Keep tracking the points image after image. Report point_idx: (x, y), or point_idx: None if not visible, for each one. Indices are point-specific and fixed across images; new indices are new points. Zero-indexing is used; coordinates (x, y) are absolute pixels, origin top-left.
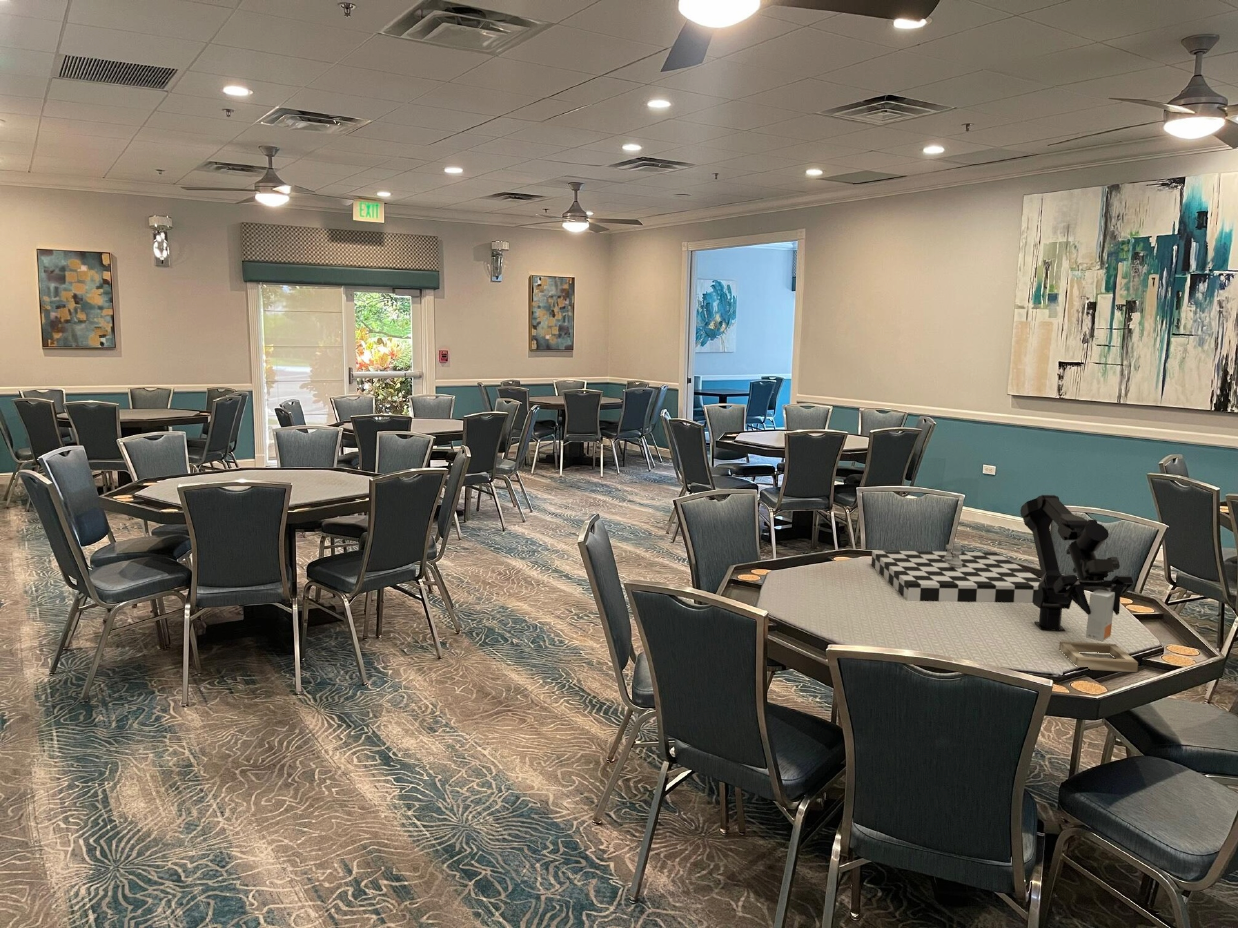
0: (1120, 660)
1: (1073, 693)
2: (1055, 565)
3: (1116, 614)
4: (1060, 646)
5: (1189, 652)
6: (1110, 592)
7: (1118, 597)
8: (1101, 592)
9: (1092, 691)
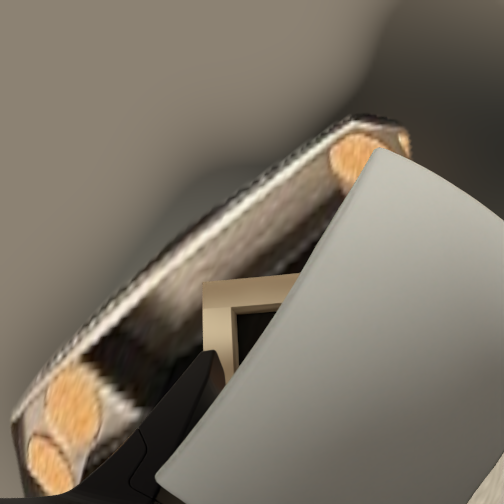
0: (255, 288)
1: (390, 132)
2: None
3: (222, 368)
4: None
5: (40, 452)
6: (254, 457)
7: (133, 454)
8: (449, 385)
9: (358, 143)
